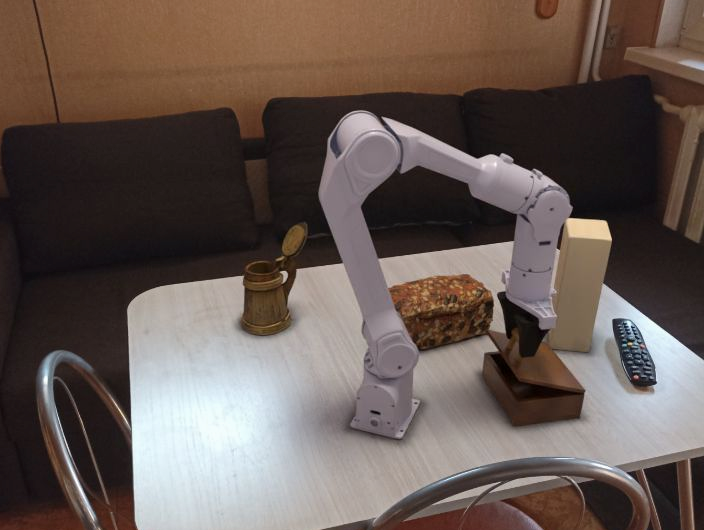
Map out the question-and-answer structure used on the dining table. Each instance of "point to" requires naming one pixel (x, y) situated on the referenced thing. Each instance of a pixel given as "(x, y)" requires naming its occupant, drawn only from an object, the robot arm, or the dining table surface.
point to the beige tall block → (579, 283)
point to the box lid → (535, 363)
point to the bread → (443, 309)
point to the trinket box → (528, 395)
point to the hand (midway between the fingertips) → (520, 346)
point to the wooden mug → (271, 287)
